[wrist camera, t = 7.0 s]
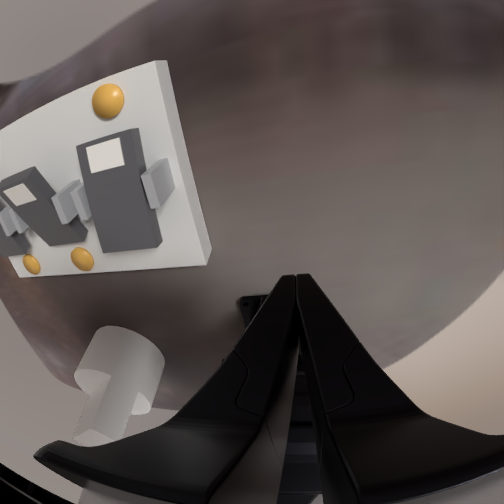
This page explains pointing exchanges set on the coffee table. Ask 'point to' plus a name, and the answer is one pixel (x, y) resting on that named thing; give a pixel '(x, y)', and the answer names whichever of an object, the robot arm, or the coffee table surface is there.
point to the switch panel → (71, 182)
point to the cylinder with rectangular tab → (116, 383)
